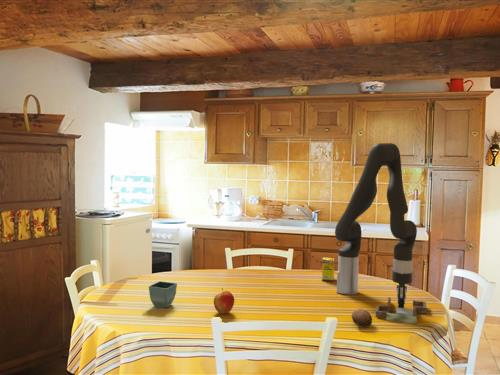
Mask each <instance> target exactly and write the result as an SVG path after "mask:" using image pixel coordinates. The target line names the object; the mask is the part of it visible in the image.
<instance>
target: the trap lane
mask: <svg viewBox="0 0 500 375" xmlns="http://www.w3.org/2000/svg"><path fill="white" fill-rule="evenodd" d="M391 298H392V297H387V305H382V304H377V305H376V310H375V318H376V317H377V318H376V319H383V318H384V320H386V321H392V322H396V323H397V322H398V323H399V322H400V323H406V324H407V323H408V324H413V325H415V324H417V323H418V314H422V315H427V307H428V306H427V303H426V302H427V301H423V300H421V301H420V300H416V299H413V300H412V310H413V316H408V315H399V314H396V313H391V312H390V311H391V305H390V304H391V301H392V299H391Z"/></svg>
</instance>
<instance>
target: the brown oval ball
mask: <svg viewBox="0 0 500 375" xmlns="http://www.w3.org/2000/svg"><path fill="white" fill-rule="evenodd" d="M351 319H352V322H353V323H354V324H355V325H357V326H358V327H359V328H362V329H363V328H364V329H366V328H369V327H371V325H372V324H373V318H372V315H371V314H370V312H369V311H367V310H366V309H365V308H356V309H355V310H353V311H352V313H351Z"/></svg>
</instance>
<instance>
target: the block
mask: <svg viewBox="0 0 500 375" xmlns="http://www.w3.org/2000/svg"><path fill="white" fill-rule="evenodd" d="M395 311H396V312H395V314H399V315H408V316H413V308H405V307H404V308H398V306H397V307H396V309H395Z"/></svg>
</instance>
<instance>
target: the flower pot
mask: <svg viewBox="0 0 500 375" xmlns="http://www.w3.org/2000/svg"><path fill="white" fill-rule="evenodd" d="M177 285H178V284H177V282H168V281H162V280H161V281H157V282H155V283H153V284H150V285H149V286H148V292H149V293H148V294H149V298H150V301H151V303H152V305H153V306H154V307H155V308H162V309H165V308H168V307H169V306H171V305H172V304H173V302H174V300H175V297H176V294H177V289H178V288H177V287H178V286H177Z"/></svg>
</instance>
